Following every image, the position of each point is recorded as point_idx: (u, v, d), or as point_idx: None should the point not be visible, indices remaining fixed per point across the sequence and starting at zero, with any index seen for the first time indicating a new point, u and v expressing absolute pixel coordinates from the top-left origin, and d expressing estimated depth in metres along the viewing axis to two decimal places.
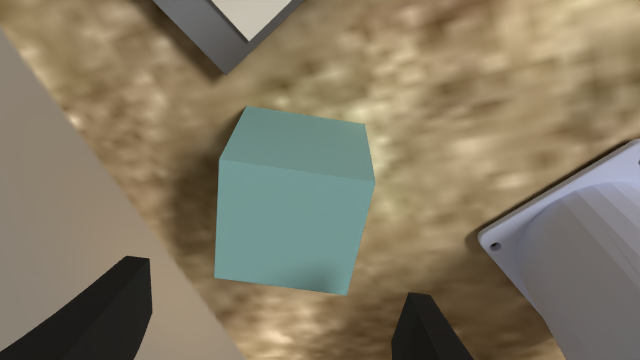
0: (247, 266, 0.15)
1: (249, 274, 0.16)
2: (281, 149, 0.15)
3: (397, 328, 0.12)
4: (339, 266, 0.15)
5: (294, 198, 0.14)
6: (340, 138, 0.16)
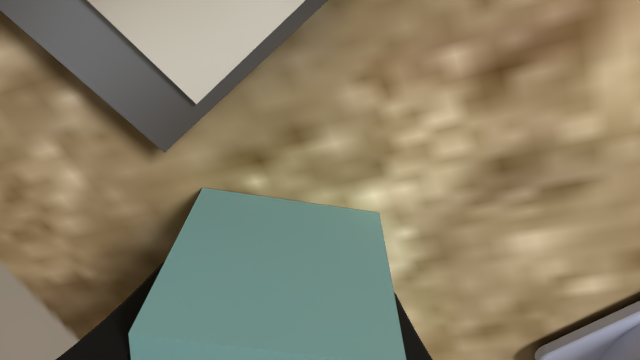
0: None
1: None
2: (246, 291, 0.09)
3: None
4: None
5: None
6: (344, 251, 0.10)
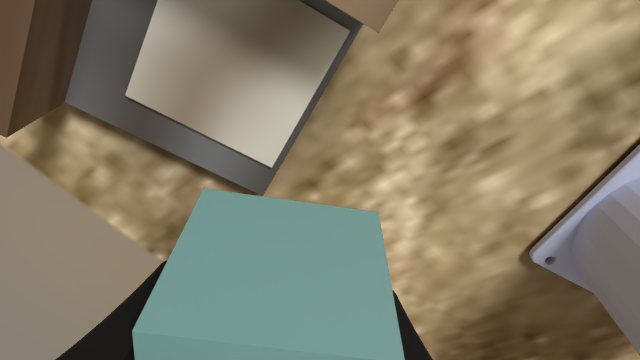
0: None
1: None
2: (247, 289, 0.09)
3: None
4: None
5: None
6: (343, 250, 0.10)
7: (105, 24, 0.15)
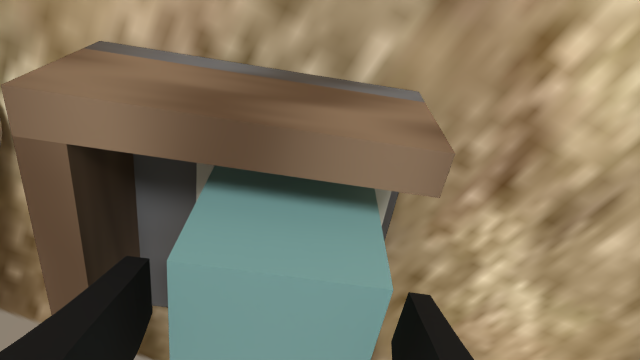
0: None
1: None
2: (260, 234, 0.10)
3: (397, 328, 0.12)
4: None
5: (276, 309, 0.10)
6: (341, 208, 0.12)
7: (156, 231, 0.15)
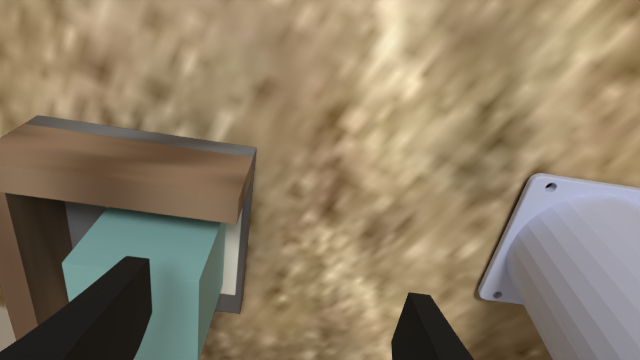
0: None
1: None
2: (128, 246, 0.17)
3: (397, 328, 0.12)
4: (185, 344, 0.18)
5: None
6: (192, 228, 0.18)
7: None
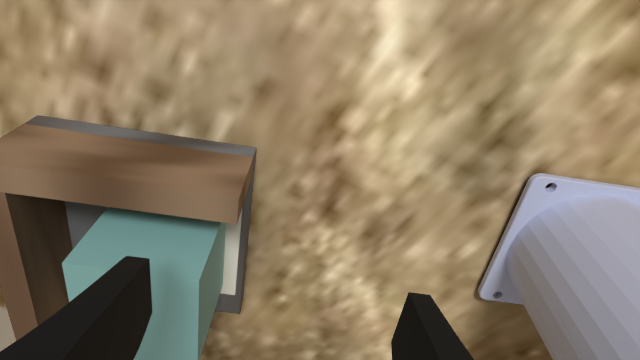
0: None
1: None
2: (128, 246, 0.17)
3: (397, 328, 0.12)
4: (185, 344, 0.18)
5: None
6: (192, 228, 0.18)
7: None
